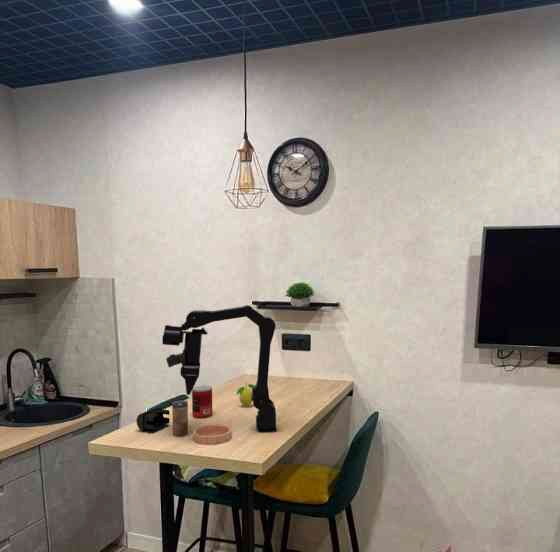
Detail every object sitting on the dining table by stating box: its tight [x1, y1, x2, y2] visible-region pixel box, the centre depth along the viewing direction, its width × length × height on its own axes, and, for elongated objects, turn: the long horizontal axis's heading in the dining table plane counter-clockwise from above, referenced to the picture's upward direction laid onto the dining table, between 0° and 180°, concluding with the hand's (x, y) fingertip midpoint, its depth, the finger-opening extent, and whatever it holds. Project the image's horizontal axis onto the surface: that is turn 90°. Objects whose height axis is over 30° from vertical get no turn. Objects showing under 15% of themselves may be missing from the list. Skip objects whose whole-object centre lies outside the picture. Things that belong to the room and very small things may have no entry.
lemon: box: [236, 383, 254, 407], centre depth 199 cm, size 7×6×10 cm
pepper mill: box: [171, 399, 189, 438], centre depth 165 cm, size 5×5×11 cm
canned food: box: [191, 384, 213, 419], centre depth 186 cm, size 8×8×11 cm
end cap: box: [135, 406, 171, 434], centre depth 171 cm, size 10×7×7 cm
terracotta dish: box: [192, 424, 233, 446], centre depth 160 cm, size 13×13×2 cm
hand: (188, 391), depth 165 cm, fingers open, 9 cm apart
